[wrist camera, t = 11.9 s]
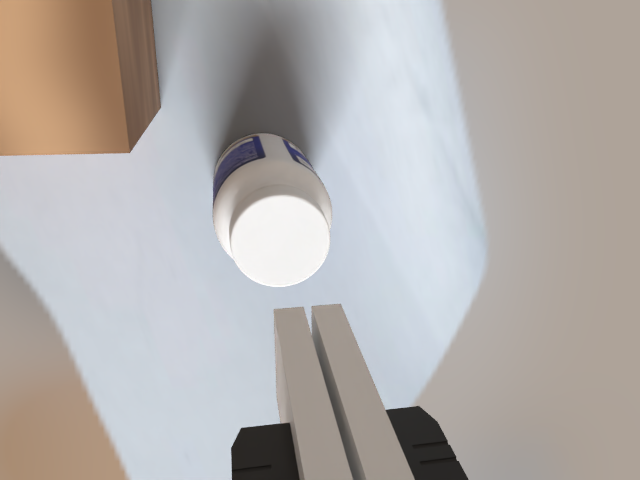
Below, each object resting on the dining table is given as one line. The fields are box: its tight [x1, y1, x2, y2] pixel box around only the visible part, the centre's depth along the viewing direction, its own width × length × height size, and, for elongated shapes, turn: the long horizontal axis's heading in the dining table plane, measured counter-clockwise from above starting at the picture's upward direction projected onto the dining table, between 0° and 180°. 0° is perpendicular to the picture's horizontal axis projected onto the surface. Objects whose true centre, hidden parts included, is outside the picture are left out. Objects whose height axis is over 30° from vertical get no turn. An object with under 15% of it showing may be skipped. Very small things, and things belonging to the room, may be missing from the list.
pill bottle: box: [213, 133, 332, 287], centre depth 25 cm, size 5×5×9 cm
